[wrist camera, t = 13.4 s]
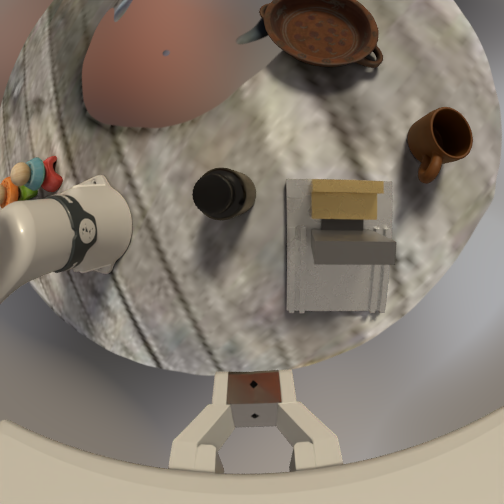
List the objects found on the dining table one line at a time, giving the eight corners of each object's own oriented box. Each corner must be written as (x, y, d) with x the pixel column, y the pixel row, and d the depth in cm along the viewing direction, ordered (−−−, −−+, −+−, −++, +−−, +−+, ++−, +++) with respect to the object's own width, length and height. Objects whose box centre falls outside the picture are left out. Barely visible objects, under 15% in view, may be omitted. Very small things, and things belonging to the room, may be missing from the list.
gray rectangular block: (310, 245, 41) (314, 264, 30) (310, 201, 40) (314, 202, 29) (370, 246, 40) (394, 264, 28) (371, 202, 39) (397, 204, 27)
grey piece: (287, 307, 46) (283, 329, 37) (286, 179, 42) (283, 175, 34) (382, 306, 43) (397, 328, 35) (389, 182, 39) (408, 179, 31)
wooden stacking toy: (39, 247, 54) (0, 257, 41) (19, 189, 52) (-18, 192, 40) (77, 203, 49) (32, 207, 37) (53, 141, 48) (12, 136, 36)
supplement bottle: (206, 186, 44) (174, 183, 33) (242, 164, 43) (221, 152, 31) (227, 224, 45) (201, 233, 33) (265, 202, 43) (251, 203, 31)
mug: (423, 197, 39) (451, 198, 29) (386, 170, 39) (407, 164, 30) (450, 139, 36) (479, 129, 27) (416, 112, 36) (439, 95, 27)
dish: (284, -12, 35) (282, -28, 30) (395, 34, 34) (402, 20, 29) (239, 48, 39) (232, 34, 34) (361, 101, 38) (367, 90, 33)
